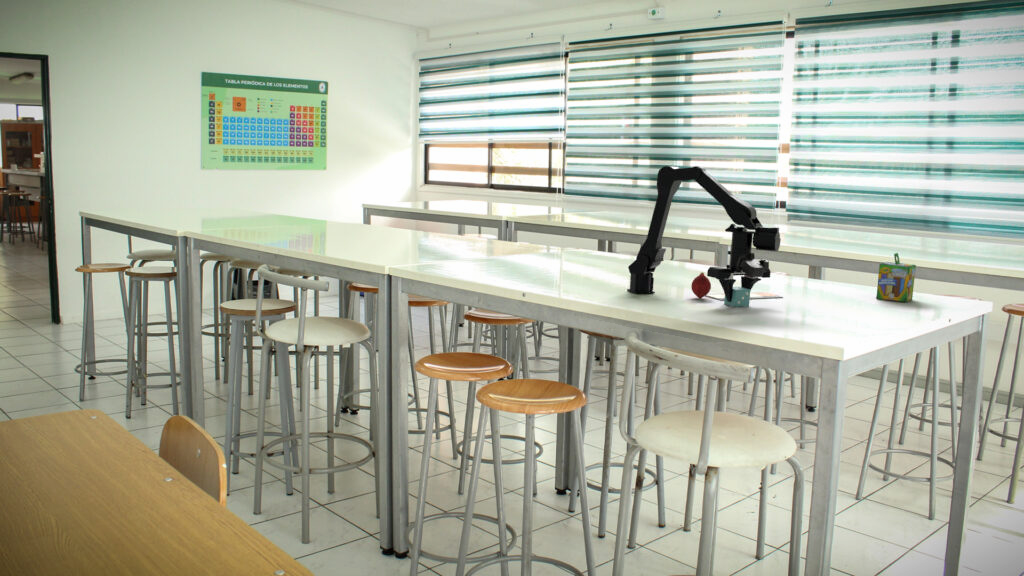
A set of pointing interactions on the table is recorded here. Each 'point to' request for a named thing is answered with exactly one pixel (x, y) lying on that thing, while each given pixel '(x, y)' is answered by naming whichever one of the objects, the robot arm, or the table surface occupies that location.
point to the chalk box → (896, 281)
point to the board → (752, 296)
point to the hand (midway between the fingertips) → (736, 301)
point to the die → (739, 297)
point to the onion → (701, 285)
